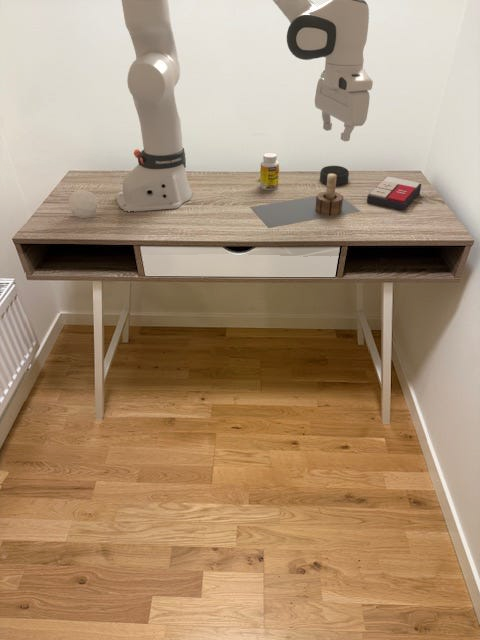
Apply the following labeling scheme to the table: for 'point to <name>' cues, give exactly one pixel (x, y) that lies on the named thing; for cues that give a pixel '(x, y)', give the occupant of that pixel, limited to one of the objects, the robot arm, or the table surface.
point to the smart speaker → (338, 170)
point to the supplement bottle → (269, 172)
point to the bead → (329, 204)
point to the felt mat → (295, 211)
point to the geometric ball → (83, 204)
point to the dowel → (331, 186)
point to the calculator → (394, 193)
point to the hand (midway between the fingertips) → (335, 135)
